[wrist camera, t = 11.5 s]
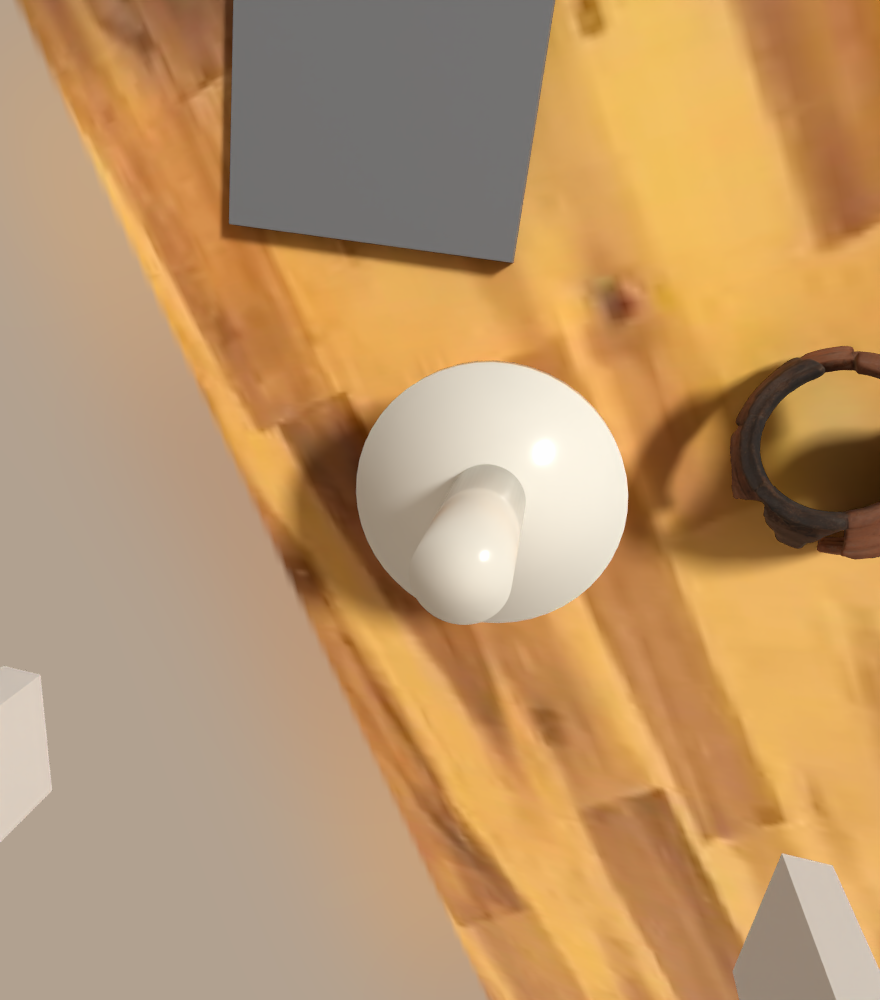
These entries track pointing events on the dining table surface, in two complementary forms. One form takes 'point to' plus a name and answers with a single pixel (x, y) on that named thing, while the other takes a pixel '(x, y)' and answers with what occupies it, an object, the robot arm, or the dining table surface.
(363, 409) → the dining table surface
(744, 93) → the dining table surface
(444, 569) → the lid
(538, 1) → the mat
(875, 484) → the dining table surface
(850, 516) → the broken pottery
